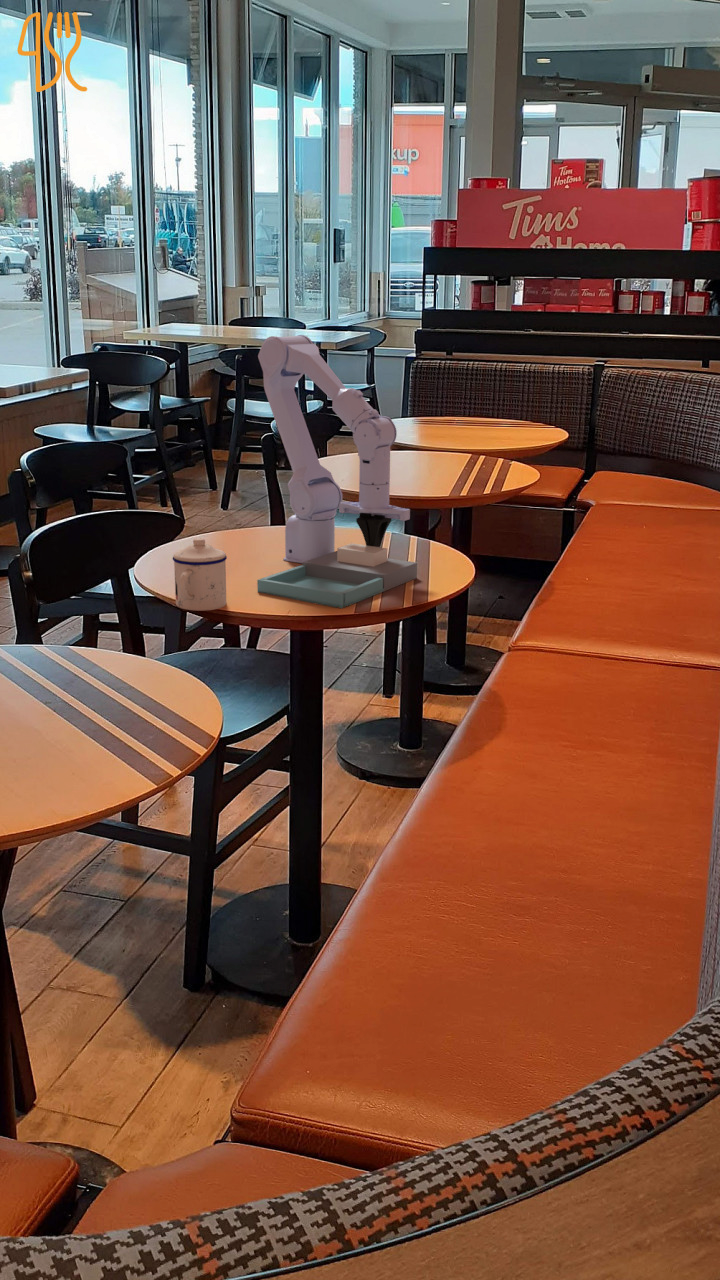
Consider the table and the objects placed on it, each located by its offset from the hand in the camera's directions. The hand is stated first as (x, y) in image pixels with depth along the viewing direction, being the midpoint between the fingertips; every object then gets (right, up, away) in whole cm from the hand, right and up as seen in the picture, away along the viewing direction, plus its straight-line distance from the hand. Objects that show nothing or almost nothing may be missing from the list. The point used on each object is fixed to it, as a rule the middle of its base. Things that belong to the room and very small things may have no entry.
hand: (373, 553), depth 218 cm
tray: (-10, -8, -13) cm, 18 cm away
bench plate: (-3, -5, -3) cm, 6 cm away
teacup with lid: (-30, -11, -24) cm, 40 cm away
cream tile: (-2, -2, -3) cm, 4 cm away
